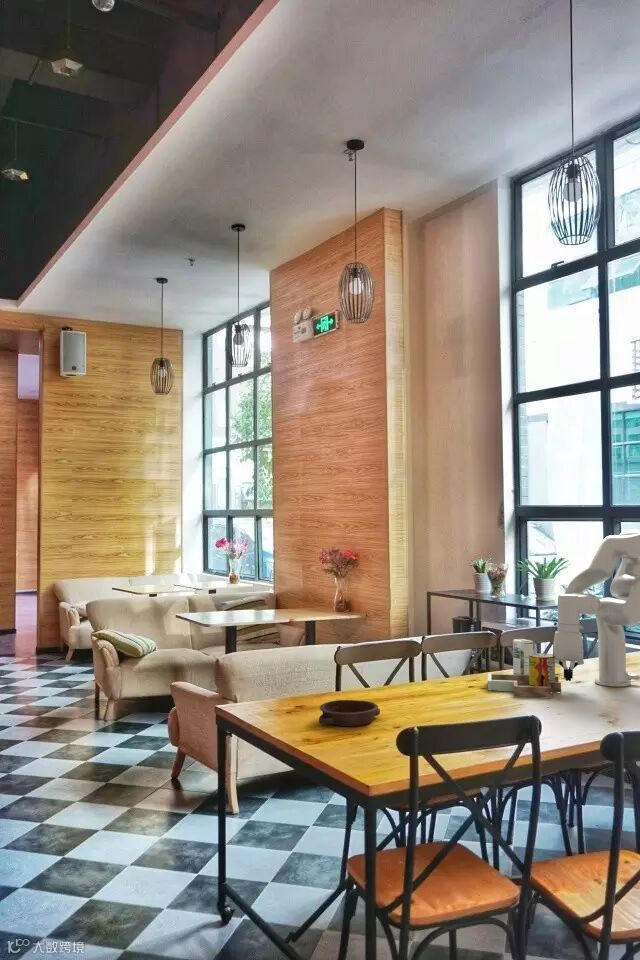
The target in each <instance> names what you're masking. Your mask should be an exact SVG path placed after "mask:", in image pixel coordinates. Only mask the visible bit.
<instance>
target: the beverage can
mask: <svg viewBox="0 0 640 960" xmlns="http://www.w3.org/2000/svg"><path fill="white" fill-rule="evenodd" d="M555 676H556V663H555V662H554V655H553V654H551V653H545V652H544V653H543V652H542V653H541V652H537V653H534V652H533V654H529V684H530V685H529V686H537V687H546V682H555Z"/></svg>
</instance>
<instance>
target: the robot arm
mask: <svg viewBox="0 0 640 960" xmlns="http://www.w3.org/2000/svg"><path fill="white" fill-rule="evenodd" d="M620 561H621V562H620ZM619 562H620V565H619V567H618V564H619ZM617 567H618V569H617ZM616 569H617V571H616V573H615V574H614V572H615V570H616ZM613 574H614V578H613V579H612V581H611V583H610V585H609V586H610V587H609V592H610V595H611V596H613V597H603V598H601V599H599V597H598V596H596V595H595V594H591V593H585V592H586V591H587V590H588V589H590V588H591V587H593V586H596V585H597V584H600V583H603V582H606V581H607V580H610V579H611V578H612V576H613ZM580 615H588V616H592V615H595V620H596V625H597V636H598V637H597V638H598V644H597V645H598V677H597V678H595V679H594V683H595V684H597V685H599V686H605V687H614V688H615V687H630V686H631V685H632V682H631V680H633V681H635V680H636V681H640V674H635V673H629V672H628V671H627V657H626V651H627V649H626V635H625V630H624V628H623V626H626V627H634V626H637V625H638V624H639V623H640V529H627V530H623V531H622V532H620V533H619V534H618V535H617V534H614V535H612V534H611V535H608V536H606V537H604V538H603V540H602V542H601V544H600V545H599V547H598V549H597V551H596V553H595V555H594V557H593V559H592V560H591V563H590V564H589V566H588V567H587V568H585V569H584V570H582V571H581V572H580V573H579V574H578V575H576V576H575V577H574V578H573V579H572V580H571V581H570V583H569V584H568V585H567V588H566V590H565V591H564V593H561V594H559V595H558V597H557V630H556V631H555V632H554V637H553V647H552V648H553V650H552V651H553V652H552V653H553V654H552V655H554V662H555V664H557V665H559V666H560V667H562V669H563V679H565V681H566V682H572V679H573V676H574V675H573V673H574V672H573V671H574V669H576V667H577V666H582V665H585V662H584V643H583V635H582V632H580V631H583V630H584V629H585V628H584V626H583V625H581V624H580ZM566 661H567V662H569V667H568V666H567V662H566Z"/></svg>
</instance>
